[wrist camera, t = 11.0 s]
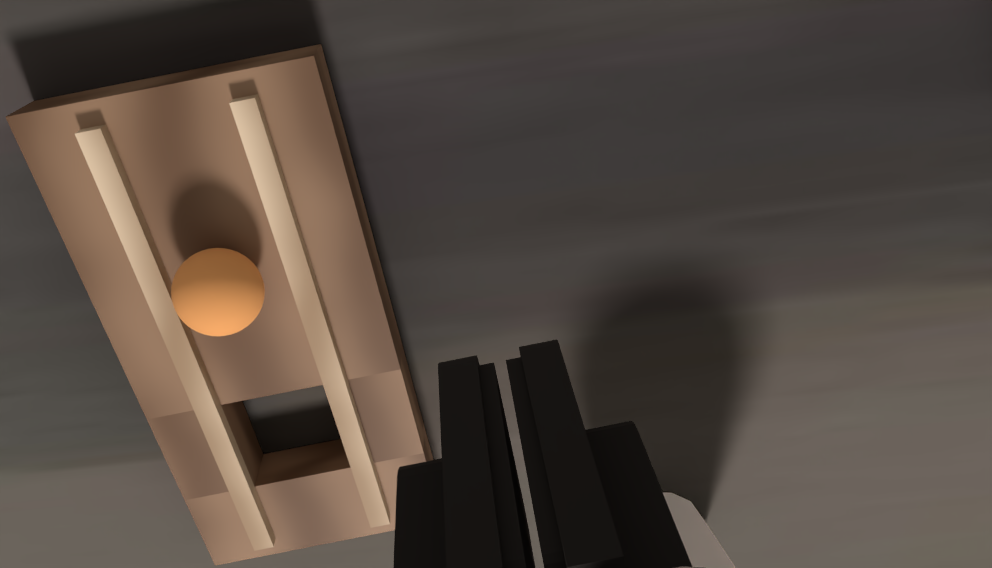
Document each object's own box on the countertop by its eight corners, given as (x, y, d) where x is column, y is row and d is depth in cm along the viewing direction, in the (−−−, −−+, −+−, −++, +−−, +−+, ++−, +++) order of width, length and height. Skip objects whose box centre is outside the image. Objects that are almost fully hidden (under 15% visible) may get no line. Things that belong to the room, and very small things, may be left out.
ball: (183, 228, 31) (158, 319, 30) (278, 252, 32) (256, 340, 31) (184, 248, 34) (161, 329, 33) (269, 268, 35) (249, 348, 34)
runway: (321, 44, 33) (312, 59, 30) (441, 487, 44) (442, 528, 41) (33, 101, 33) (-2, 120, 30) (225, 530, 44) (212, 574, 41)
